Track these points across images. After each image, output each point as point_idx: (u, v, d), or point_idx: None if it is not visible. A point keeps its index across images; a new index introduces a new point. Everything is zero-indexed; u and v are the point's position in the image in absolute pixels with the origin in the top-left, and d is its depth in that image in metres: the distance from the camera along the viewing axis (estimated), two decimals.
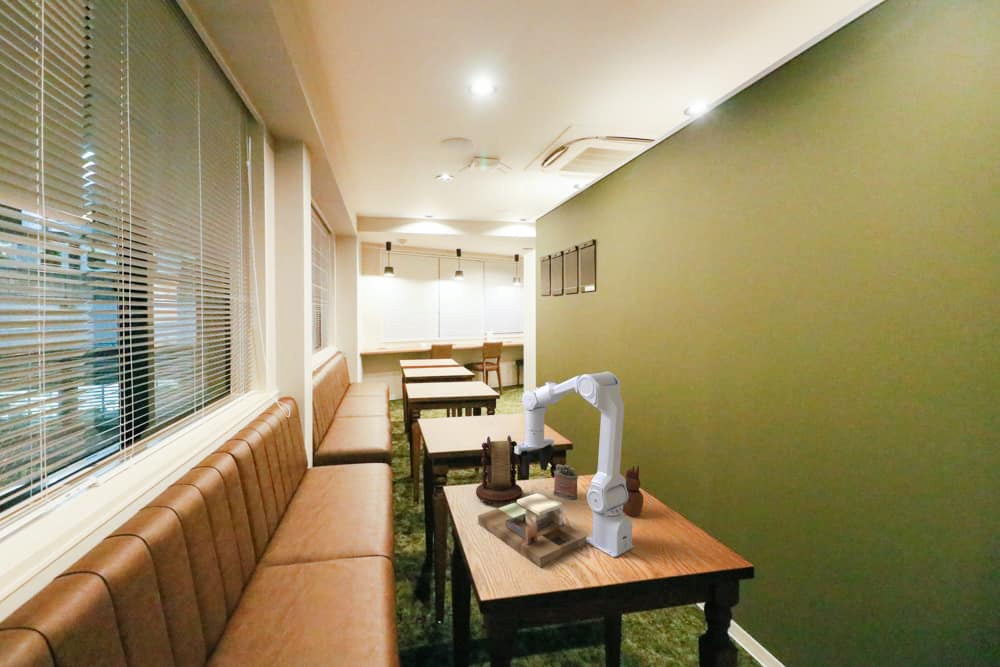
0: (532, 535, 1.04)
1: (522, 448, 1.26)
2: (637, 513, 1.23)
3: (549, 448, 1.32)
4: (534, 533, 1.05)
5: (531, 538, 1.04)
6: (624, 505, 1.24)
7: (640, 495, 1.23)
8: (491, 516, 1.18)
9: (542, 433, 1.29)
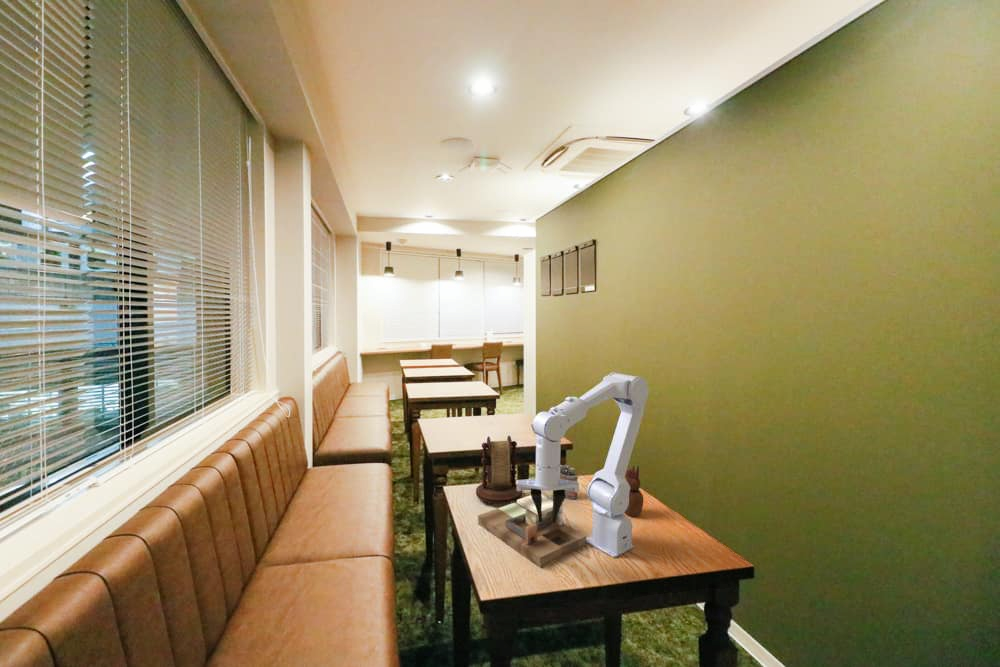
0: (532, 535, 1.04)
1: (522, 484, 0.99)
2: (637, 513, 1.23)
3: (558, 494, 0.98)
4: (534, 533, 1.05)
5: (531, 538, 1.04)
6: None
7: (640, 495, 1.23)
8: (491, 516, 1.18)
9: (551, 471, 0.97)
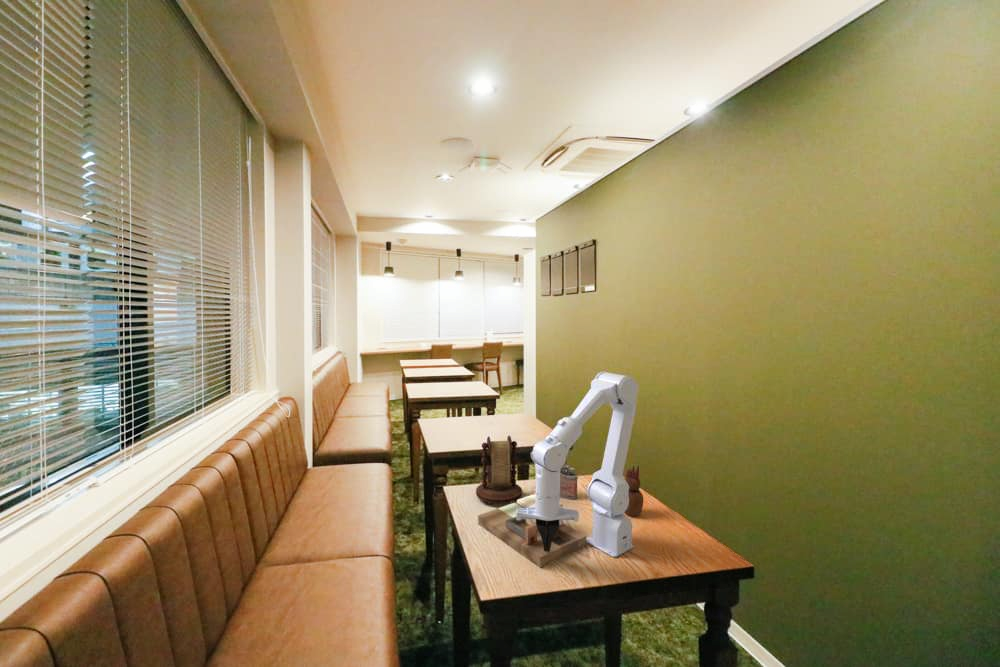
0: (532, 535, 1.04)
1: (522, 514, 0.99)
2: (637, 513, 1.23)
3: (552, 523, 0.98)
4: (534, 533, 1.05)
5: (531, 538, 1.04)
6: None
7: (640, 495, 1.23)
8: (491, 516, 1.18)
9: (551, 501, 0.97)
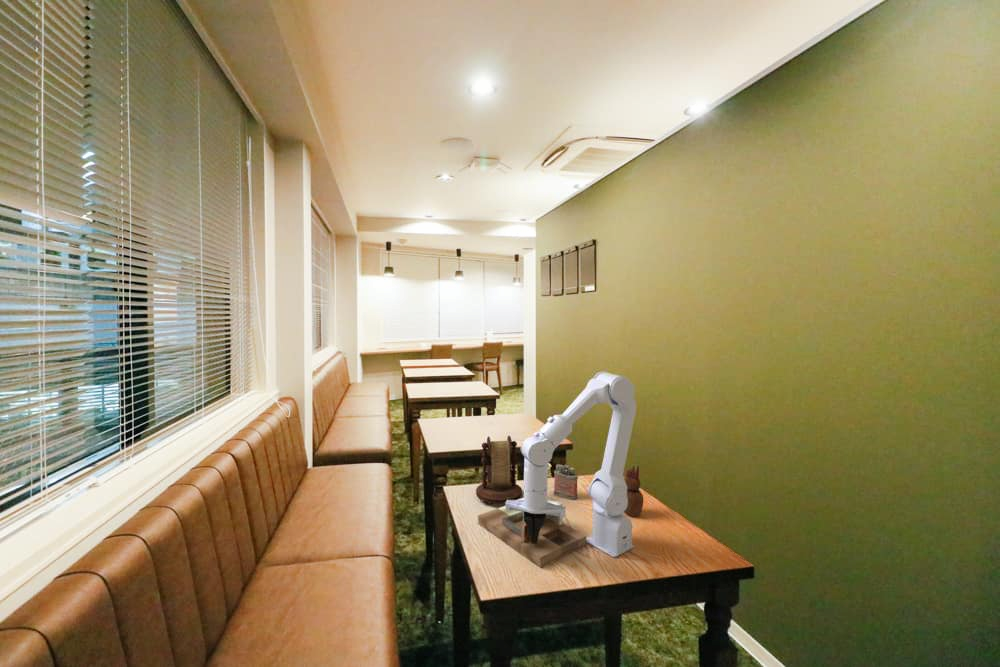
0: (528, 533, 1.06)
1: (510, 505, 1.04)
2: (637, 513, 1.23)
3: (538, 517, 1.02)
4: None
5: (527, 536, 1.05)
6: None
7: (640, 495, 1.23)
8: (491, 516, 1.18)
9: (536, 495, 1.00)
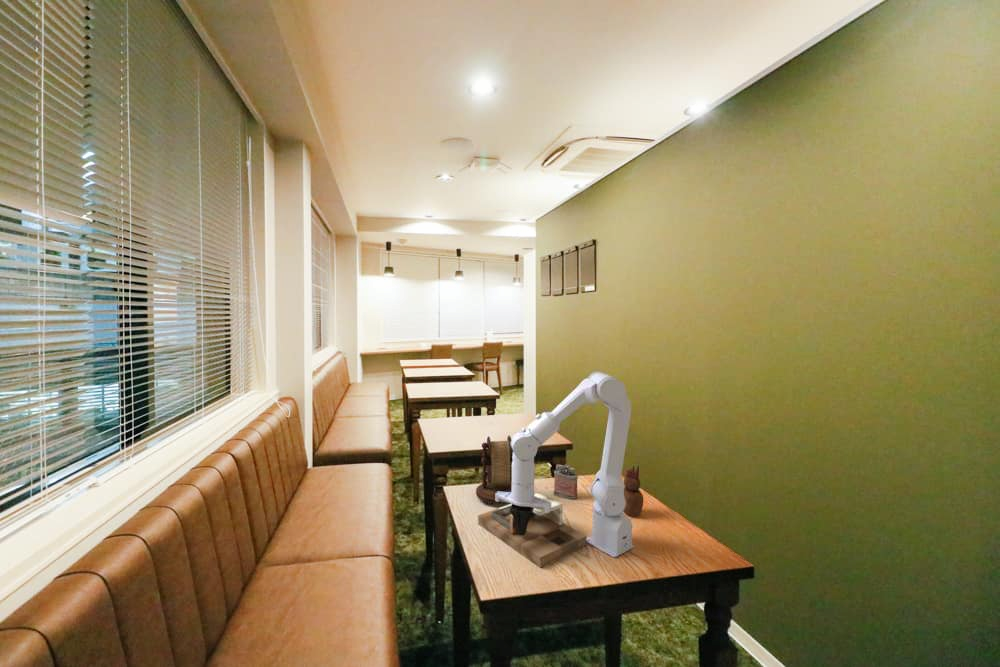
0: (516, 525, 1.09)
1: (499, 496, 1.09)
2: (637, 513, 1.23)
3: (523, 509, 1.05)
4: None
5: (515, 528, 1.09)
6: None
7: (640, 495, 1.23)
8: (491, 516, 1.18)
9: (521, 488, 1.04)
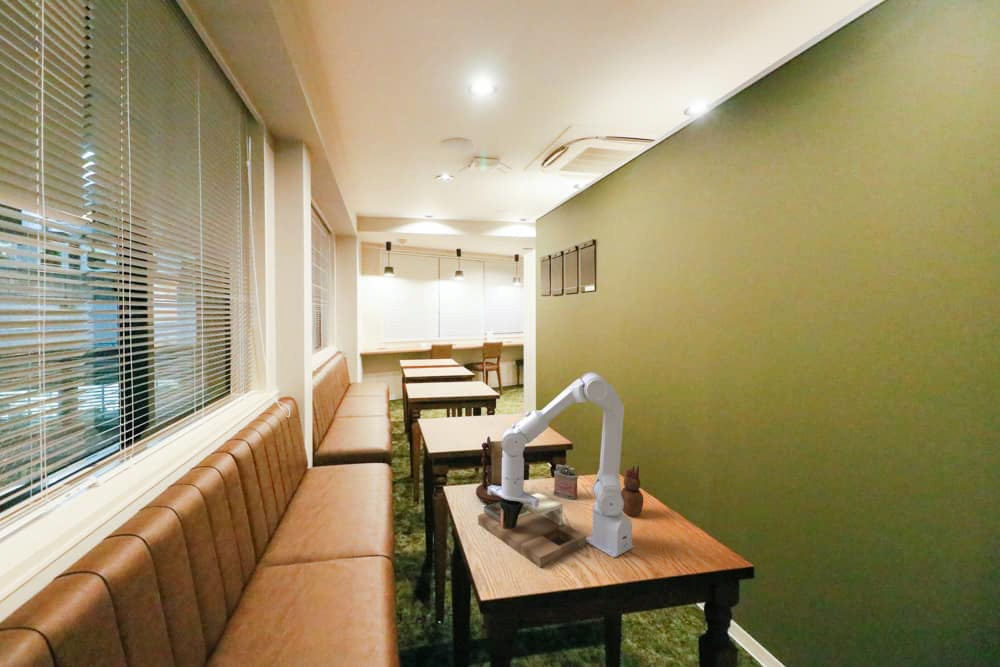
0: None
1: (491, 489, 1.13)
2: (637, 513, 1.23)
3: (512, 503, 1.08)
4: None
5: (506, 522, 1.12)
6: (624, 505, 1.24)
7: (640, 495, 1.23)
8: None
9: (509, 483, 1.08)
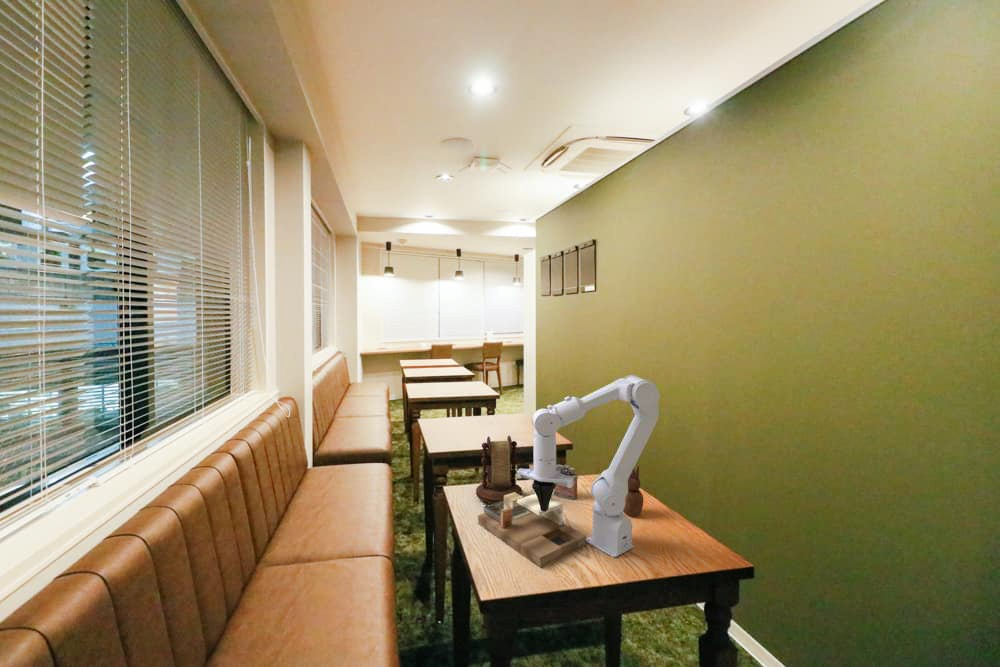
0: (507, 519, 1.12)
1: (521, 472, 1.09)
2: (637, 513, 1.23)
3: (546, 485, 1.06)
4: (509, 517, 1.13)
5: (506, 522, 1.12)
6: None
7: (640, 495, 1.23)
8: None
9: (543, 464, 1.05)
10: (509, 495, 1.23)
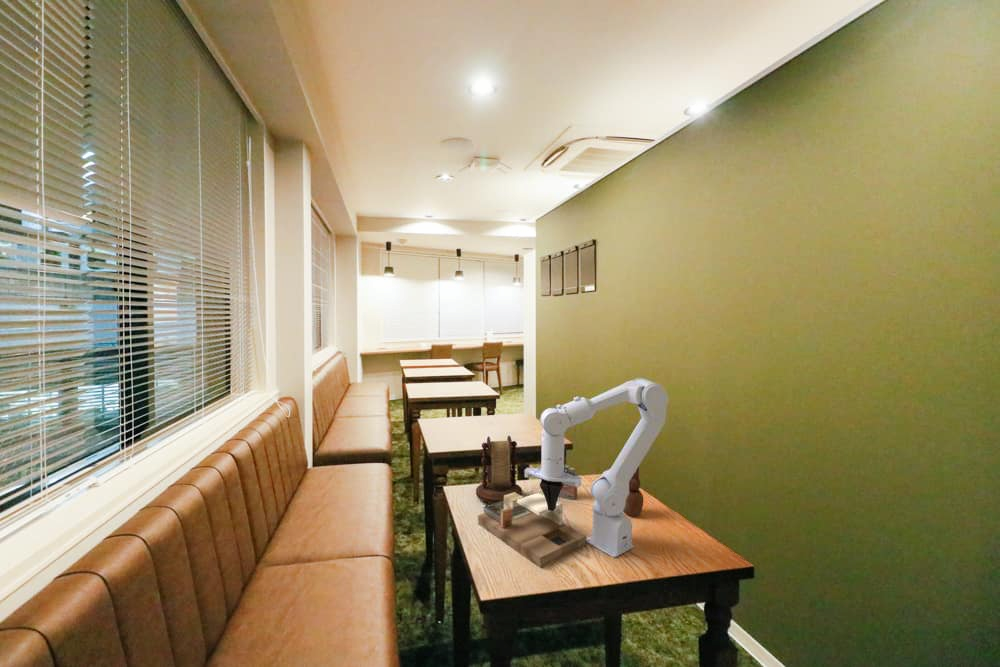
0: (507, 519, 1.12)
1: (529, 472, 1.09)
2: (637, 513, 1.23)
3: (553, 485, 1.06)
4: (509, 517, 1.13)
5: (506, 522, 1.12)
6: None
7: (640, 495, 1.23)
8: None
9: (551, 463, 1.05)
10: (509, 495, 1.23)
